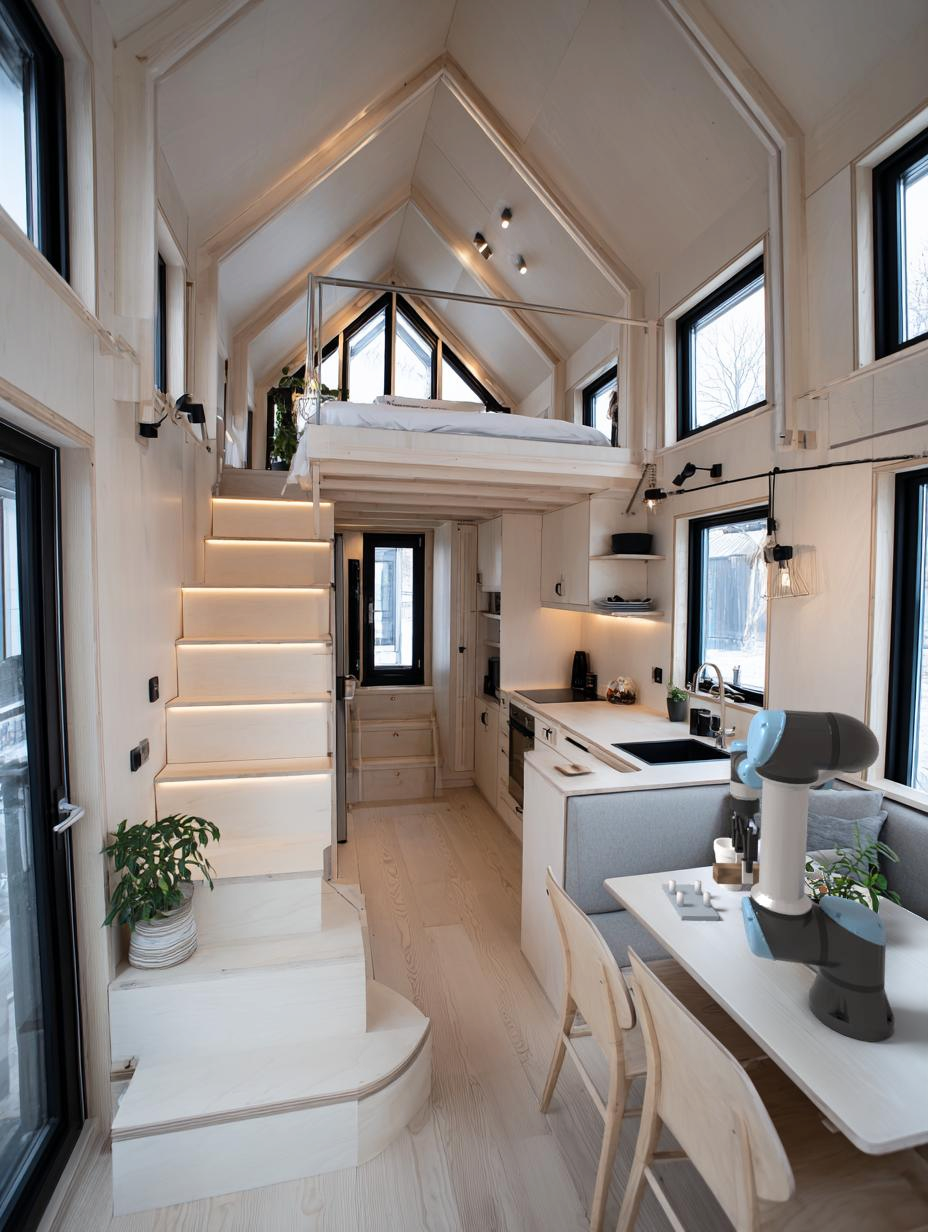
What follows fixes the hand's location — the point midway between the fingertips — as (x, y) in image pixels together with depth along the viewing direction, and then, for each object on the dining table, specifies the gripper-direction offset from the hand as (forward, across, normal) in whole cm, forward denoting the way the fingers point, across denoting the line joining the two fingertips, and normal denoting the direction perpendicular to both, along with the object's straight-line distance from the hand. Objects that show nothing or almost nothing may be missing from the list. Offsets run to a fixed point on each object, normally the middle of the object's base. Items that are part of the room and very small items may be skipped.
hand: (744, 879), depth 170 cm
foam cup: (+9, +15, -2) cm, 17 cm away
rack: (+9, +4, +14) cm, 17 cm away
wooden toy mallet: (0, 0, 0) cm, 0 cm away
